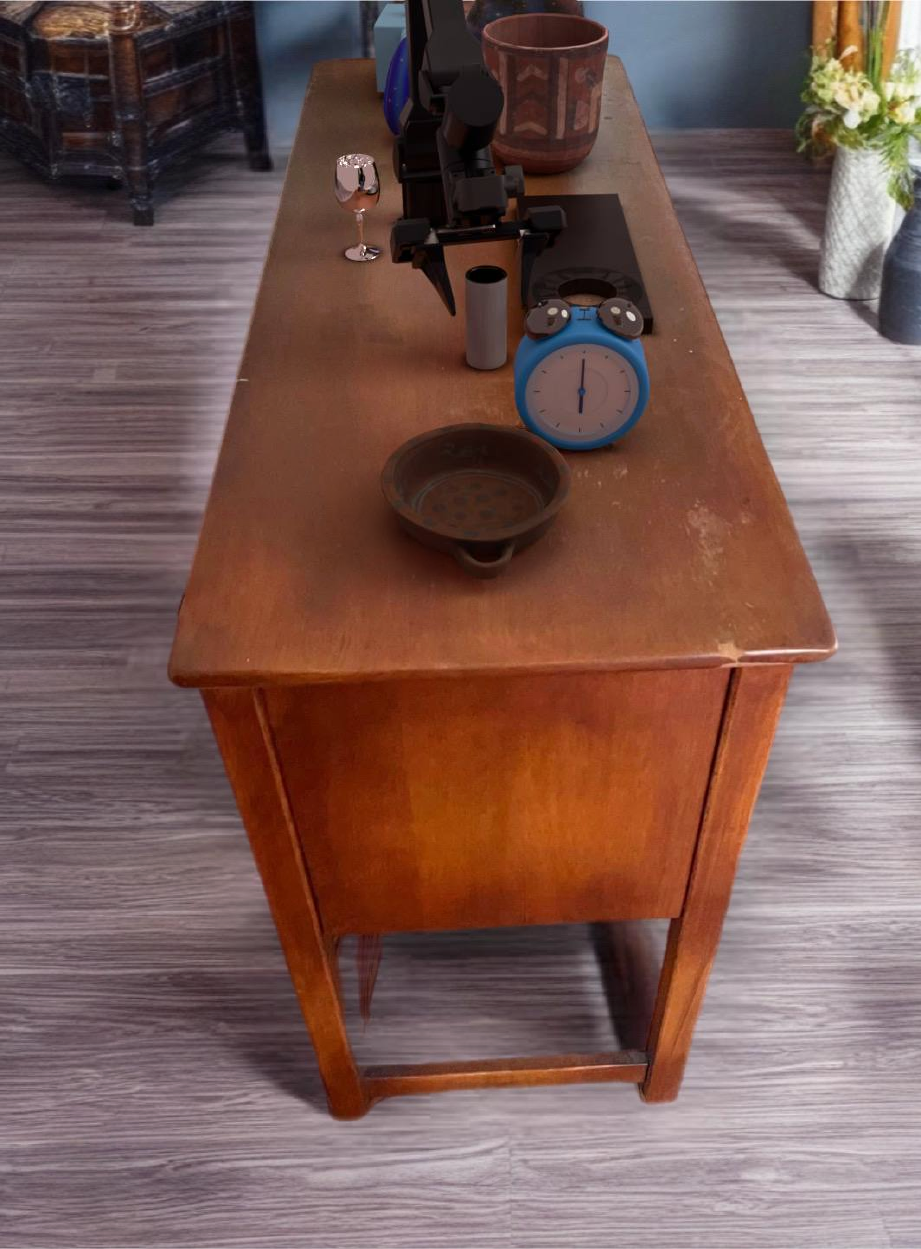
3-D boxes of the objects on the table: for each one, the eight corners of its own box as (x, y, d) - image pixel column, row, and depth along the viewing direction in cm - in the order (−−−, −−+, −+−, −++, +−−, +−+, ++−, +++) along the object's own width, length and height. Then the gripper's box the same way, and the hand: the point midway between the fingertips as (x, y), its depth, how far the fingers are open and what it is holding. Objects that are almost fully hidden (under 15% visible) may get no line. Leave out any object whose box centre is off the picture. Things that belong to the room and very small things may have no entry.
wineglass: (392, 248, 156) (386, 156, 148) (371, 266, 152) (364, 172, 144) (353, 241, 158) (346, 149, 150) (332, 258, 154) (323, 165, 146)
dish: (384, 598, 103) (380, 553, 100) (382, 456, 120) (379, 413, 116) (583, 588, 104) (586, 543, 101) (555, 448, 120) (556, 405, 117)
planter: (502, 372, 132) (503, 285, 125) (462, 368, 132) (461, 282, 126) (509, 352, 135) (510, 266, 128) (470, 348, 136) (469, 263, 129)
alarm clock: (513, 454, 120) (515, 317, 110) (512, 421, 124) (514, 287, 114) (644, 453, 119) (658, 316, 109) (638, 420, 124) (651, 286, 114)
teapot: (442, 110, 195) (439, 19, 186) (375, 108, 196) (369, 17, 187) (458, 67, 211) (456, -18, 202) (396, 66, 212) (391, -19, 203)
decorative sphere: (459, 91, 201) (456, -40, 188) (576, 87, 202) (582, -45, 189) (466, 132, 187) (464, -8, 174) (592, 127, 188) (600, -12, 175)
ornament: (399, 124, 190) (394, 23, 180) (454, 129, 188) (452, 27, 178) (377, 149, 182) (370, 45, 172) (434, 154, 180) (431, 49, 170)
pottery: (573, 132, 186) (579, 7, 174) (619, 172, 174) (629, 40, 162) (466, 146, 182) (465, 19, 170) (506, 189, 170) (507, 55, 158)
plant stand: (515, 210, 165) (516, 195, 163) (616, 207, 165) (617, 193, 163) (531, 336, 138) (531, 320, 136) (652, 333, 138) (653, 318, 136)
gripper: (387, 144, 120) (409, 295, 119) (566, 129, 122) (589, 276, 122) (381, 191, 131) (401, 329, 130) (545, 176, 133) (566, 312, 133)
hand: (488, 311), depth 128 cm, fingers open, 7 cm apart
